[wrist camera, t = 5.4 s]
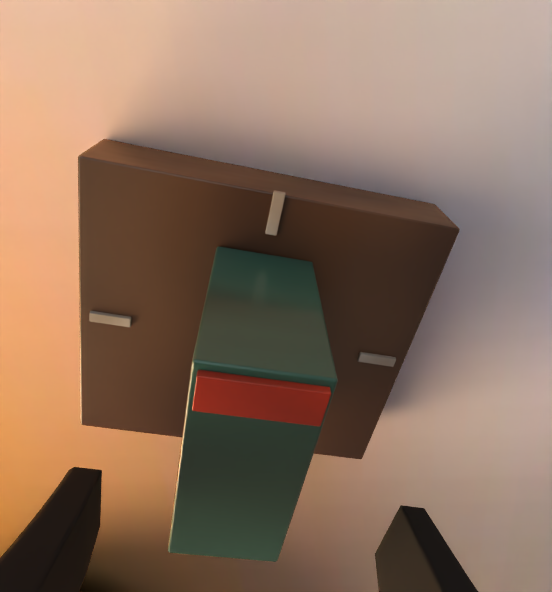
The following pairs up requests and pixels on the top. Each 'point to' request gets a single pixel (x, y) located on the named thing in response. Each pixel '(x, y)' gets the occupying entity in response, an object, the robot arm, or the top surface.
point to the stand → (248, 237)
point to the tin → (251, 407)
